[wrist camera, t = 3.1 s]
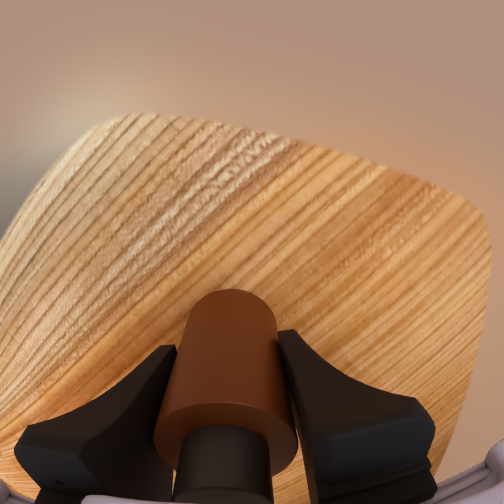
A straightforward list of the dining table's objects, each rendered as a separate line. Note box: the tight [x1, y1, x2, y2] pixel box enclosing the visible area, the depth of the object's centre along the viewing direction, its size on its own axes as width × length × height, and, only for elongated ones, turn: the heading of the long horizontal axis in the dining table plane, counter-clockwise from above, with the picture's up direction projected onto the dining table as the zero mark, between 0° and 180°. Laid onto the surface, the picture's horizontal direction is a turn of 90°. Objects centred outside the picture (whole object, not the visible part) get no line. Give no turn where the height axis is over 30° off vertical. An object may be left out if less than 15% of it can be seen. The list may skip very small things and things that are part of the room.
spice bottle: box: [153, 289, 298, 504], centre depth 10 cm, size 4×4×9 cm
